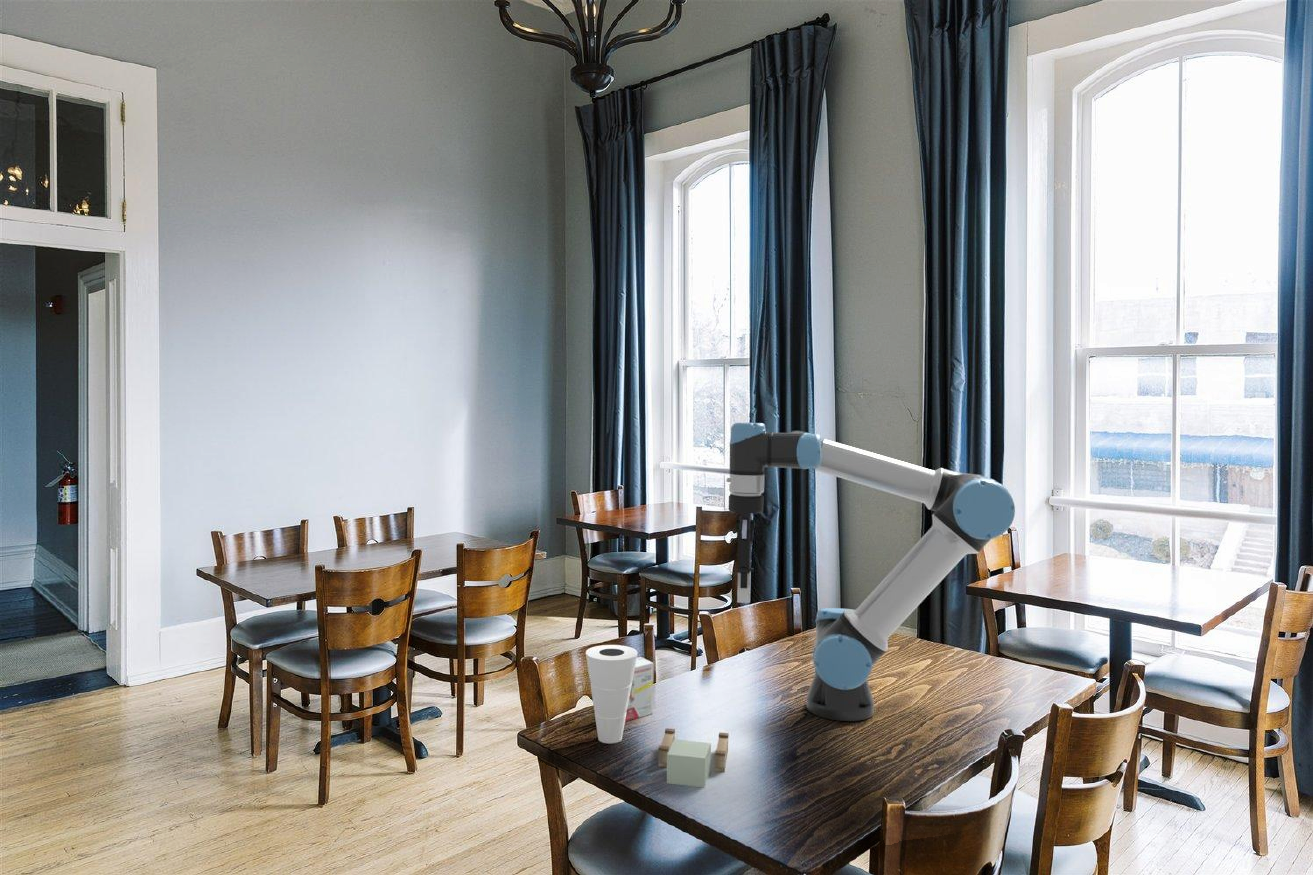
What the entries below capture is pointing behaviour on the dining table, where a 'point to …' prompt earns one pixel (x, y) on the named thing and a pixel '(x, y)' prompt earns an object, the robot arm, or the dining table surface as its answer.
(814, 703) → the robot arm
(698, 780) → the block
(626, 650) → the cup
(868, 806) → the dining table surface
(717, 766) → the light wood low frame
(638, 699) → the ink box
